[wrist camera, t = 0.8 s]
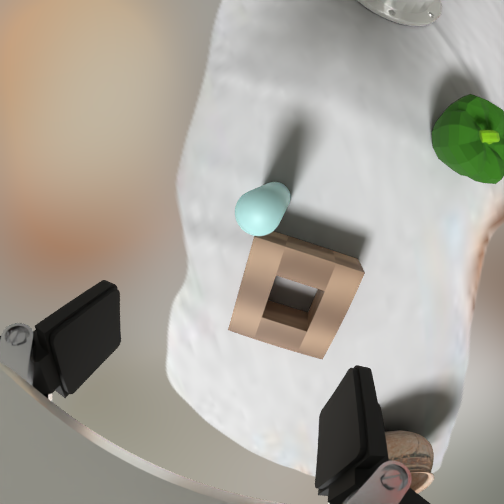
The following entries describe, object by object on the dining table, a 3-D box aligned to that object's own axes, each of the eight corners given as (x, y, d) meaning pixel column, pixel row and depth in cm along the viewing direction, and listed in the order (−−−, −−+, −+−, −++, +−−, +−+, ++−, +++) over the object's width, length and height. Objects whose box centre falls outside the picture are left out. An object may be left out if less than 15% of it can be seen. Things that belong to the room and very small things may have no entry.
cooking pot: (448, 427, 33) (462, 474, 22) (379, 471, 40) (381, 514, 29) (372, 391, 33) (382, 459, 22) (294, 444, 40) (285, 499, 28)
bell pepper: (480, 120, 20) (532, 112, 10) (474, 186, 22) (527, 199, 13) (423, 94, 21) (467, 69, 12) (416, 164, 24) (463, 166, 14)
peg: (264, 178, 27) (241, 184, 18) (294, 186, 27) (287, 197, 18) (256, 207, 29) (230, 228, 19) (285, 216, 28) (273, 241, 19)
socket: (261, 227, 29) (254, 236, 25) (358, 259, 28) (364, 272, 24) (237, 312, 33) (228, 329, 29) (321, 339, 32) (322, 359, 28)
